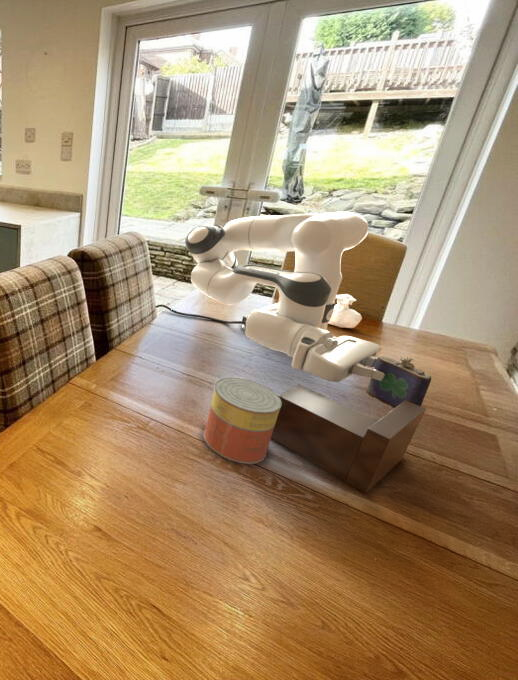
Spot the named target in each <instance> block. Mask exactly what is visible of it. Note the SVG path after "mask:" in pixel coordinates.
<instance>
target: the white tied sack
mask: <svg viewBox="0 0 518 680" xmlns="http://www.w3.org/2000/svg"><path fill="white" fill-rule="evenodd" d="M335 299H336V303H337V304H335V307H334V312H333V315H332V317H331V319H330V321H329V322H328V325H332V326H335V327H338V328H346V329H354V328H356V327H357V326H358V325H359V324H360V323H361V321H362V320H363V317H362V315H361V313H359V312H357V311H356V310H355V309H353V308H350V306H353V303H354V302H356V301H358V300H357V299H356V298H354V297H353V295H350V294H349V293H343V294H337V295H336V298H335Z"/></svg>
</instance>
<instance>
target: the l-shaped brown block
mask: <svg viewBox="0 0 518 680" xmlns="http://www.w3.org/2000/svg"><path fill="white" fill-rule="evenodd" d="M278 396H279V398H280V399H281V401H282V406H281V408H280V410H279V413H278V417H277V420H276V423H275V426H274V429H273V432H272V436H271V439H270V440H273V441H275V442H276V443H278V444H280V445H282V446H283V447H285V448H287V449H289V450H290V451H292V452H294V453H295V454H297V455H299V456H300V457H302V458H304V459H305V460H307V461H309V462H311V463H312V464H314V465H316V466H318V468H321V469H322V470H324V471H326V472H328V473H329V474H330V475H333V476H334V477H336V478H338V479H339V480H342V481H343V482H344V483H346V484H348V485H350V486H351V487H353V488H355V489H356V490H358V491H360V492H362V493H363V494H366V493H368V492H369V491H370V490H371V489H372V488H373V487H374V486H375V485H376V484H378V482H379V481H381V479H383V478H384V477H385V476H386V475H387V474H388V473H389V472H390V471H391V470H392V469H394V467H395V466H397V465H398V464H399V462H401V461H402V460H403V458H404V456H405V454H406V452H407V449H408V447H409V445H410V443H411V441H412V439H413V437H414V435H415V433H416V431H417V429H418V427H419V425H420V424H421V423H420V422H421V421H422V418H423V416H424V415H425V412H426V410H427V408H426V407H423V406H418V405H416V404H413V403H411V402H408V401H406V400H404V401H403V402H402V403H401V404H399V405H398V406H397V407H395V408H392V409H391V410H390V411H388V412H387V413H386V414H385V415H384V416H382V417H381V418H380V419H377V418H375V417H372V416H370V415H367V414H366V413H363V412H361V411H358V410H356V409H354V408H352V407H350V406H348V405H345V404H343V403H341V402H339V401H337V400H334V399H332V398H330V397H328V396H326V395H324V394H321V393H319V392H317V391H314V390H312V389H310V388H308V387H306V386H303V385H302V384H297V385H295V386H293V387H292V388H290V389H288V390H286V391H284V392H282V393H280V394H279V395H278Z"/></svg>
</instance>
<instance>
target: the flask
mask: <svg viewBox="0 0 518 680" xmlns="http://www.w3.org/2000/svg"><path fill="white" fill-rule="evenodd" d="M413 361H415V359H414V358H412V357H407V356H406V358H401V357H400V361H398V360H396V359H393V358H391V357H387V356H384V355H382V356H380V355H379V357H378V359H377V360H376V365H375V368H374V367H373V369H380V370H382V371H385V372H386V373H387V375H386V377H385V379H383V380H381V381H379V380H376V379H373V378H370V380H369V383H368V384H367V387H366V390H365V391H366V392H365V393H366V394H367V395H368V396H369V397H371V398H372V399H373V398H375V399H376V400H377V401H379V402H381V403H382V404H385V405H387V406H390V407H391V408H392V409H394V408H395V407H397V406H398V405H399V404H401V403H402V402H403V401H404V400H406V401H408V402H411V403H413V404H416V405H418V406H421V407H423V406H422V405H423V403H424V400H425V397H426V394H427V391H428V389H429V387H430V384H431V382H432V376H431V375H430V374H428V373H426V372H425V371H424V370H421V369H418V368H416V366H415V364H414V363H411V362H413Z"/></svg>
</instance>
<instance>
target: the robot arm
mask: <svg viewBox="0 0 518 680" xmlns="http://www.w3.org/2000/svg"><path fill="white" fill-rule="evenodd" d="M368 233H369V223H368V221H367V220H366V219H365V218H364V217H363V216H361V215H360V214H357V213H354V212H350V211H334V212H332V211H331V212H315V213H298V214H283V215H281V214H280V215H257V216H246V217H241V218H237V219H233V220H230V221H228V222H227V223H226V224H225V225H224V227H223V226H222V225H220V224H212V225H211V224H205V225H204V224H203V225H199V226H197V227H194V228H193V229H191V230H190V232H188V234H186V237H185V239H184V240H185V241H184V243H185V247H186V249H187V251H188V253H190V255H191V257H192V258H193V260H194V261H195V263H196V266H194V268H193V269H192V271H191V273H190V281H191V284H192V285H193V286H194V287H195V288H196V289H197V290H198V291H199V292H201V293H202V294H204V295H205V296H207V297H208V298H210V299H212V300H214V301H216V302H217V303H220V304H223V305H225V306H232V305H236V304H240V303H241V302H243V301H245V300H246V299H247V298H248V297H249V296H250V295H251V294H252V292H253V290H254V289H255V287H256V285H257V284H259V285H264V286H268V287H272V288H276V290H277V291H278V293H279V294H278V298H277V300H278V302H276V303H273V304H269V305H266V306H264V307H262V308H260V309H252V310H251V311H250V312H249V313H248V315H243V316H242V319H241V320H232V321H231V320H230V321H229V320H224V319H223V320H222V319H219V318H215V317H211V316H207V315H201V314H194V313H186V312H181V311H177V310H174V309H173V308H171V307H169V306H167V305H165V304H157V305H155V306H154V308H156V309H158V308H165V309H166V310H168V311H170V312H171V313H174V314H176V315H179V316H186V317H194V318H200V319H205V320H210V321H213V322H217V323H221V324H228V325H234V324H235V325H238V324H239V325H242V326H241V328H242V329H243V330H244V335H245V336H246V337H247V338H248V339H249V340H251V341H253V342H255V343H257V344H258V345H260V346H262V347H265V348H267V349H270V350H272V351H276V352H281V353H284V354H286V356H288V357H290V358H292V361H291V368H293V369H295V370H298V371H304V372H306V373H308V374H310V375H311V376H312V375H313V376H315V377H317V378H320V379H323V380H325V381H329V382H333V383H340V382H342V381H343V380H345V379H346V378H348V377H350V376H352V375H355V376H359V377H365V378H369V379H371V378H373V379H376V380H379V381H381V380H383V379H385V377H386V375H387V373H386V372H385V371H382V370H380V369H374V368H375V365H376V360H377V359H378V357H380V354H381V351H382V349H383V347H382V346H380V345H379V344H377V343H375V342H372V341H367V340H365V339H361V338H357V337H354V336H350V335H341V336H338V337H336V336H333V333H332V332H331V331H330V330H328V327H329V324H328V322H329V321H330V319H331V317H332V315H333V312H334V307H335V305H336V302H335V301H336V299H337V298H336V295H338V292H339V289H340V285H341V283H342V280H343V274H342V272H341V262H342V255H343V253H344V251H347V250H350V249H353V248H355V247H356V246H359V244H360V243H361V242H363V241H364V240H365V239H366V237H368ZM239 251H251V252H273V253H274V252H275V253H276V252H277V253H289V252H295V266H294V270H289V269H287V270H286V269H281V268H276V267H272V266H265V265H259V264H252V263H251V264H250V263H249V264H248V263H247V264H246V263H245V264H240V265H238V260H237V257H236V255H235V254H234V252H239ZM171 309H172V310H171Z"/></svg>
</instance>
